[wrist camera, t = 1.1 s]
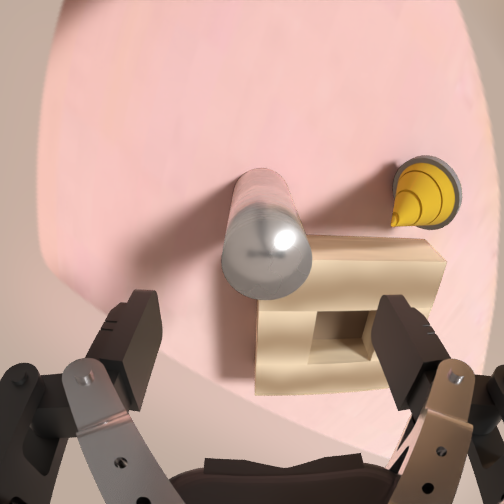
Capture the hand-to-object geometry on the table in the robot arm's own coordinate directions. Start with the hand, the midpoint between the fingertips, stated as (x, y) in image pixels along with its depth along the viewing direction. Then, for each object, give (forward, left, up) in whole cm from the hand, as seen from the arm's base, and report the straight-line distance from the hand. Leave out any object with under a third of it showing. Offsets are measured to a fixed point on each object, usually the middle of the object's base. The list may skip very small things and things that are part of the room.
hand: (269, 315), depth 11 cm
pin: (0, 0, -14) cm, 14 cm away
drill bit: (-1, +11, -14) cm, 18 cm away
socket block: (+10, +7, -14) cm, 18 cm away
